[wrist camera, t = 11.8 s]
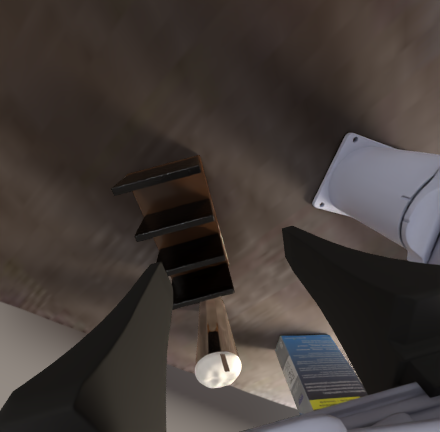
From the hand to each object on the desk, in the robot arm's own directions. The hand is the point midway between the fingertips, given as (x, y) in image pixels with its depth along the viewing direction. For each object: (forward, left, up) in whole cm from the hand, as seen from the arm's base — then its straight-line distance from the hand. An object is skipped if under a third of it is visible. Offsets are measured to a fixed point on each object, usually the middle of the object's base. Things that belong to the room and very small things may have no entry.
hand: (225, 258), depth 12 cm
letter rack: (+2, +3, -10) cm, 11 cm away
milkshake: (-4, +14, -11) cm, 18 cm away
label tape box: (-21, +20, -11) cm, 31 cm away
